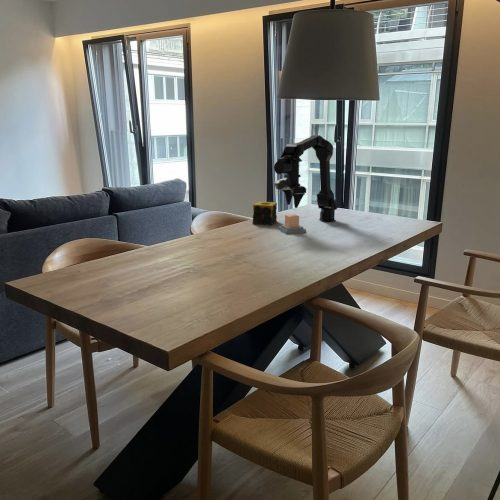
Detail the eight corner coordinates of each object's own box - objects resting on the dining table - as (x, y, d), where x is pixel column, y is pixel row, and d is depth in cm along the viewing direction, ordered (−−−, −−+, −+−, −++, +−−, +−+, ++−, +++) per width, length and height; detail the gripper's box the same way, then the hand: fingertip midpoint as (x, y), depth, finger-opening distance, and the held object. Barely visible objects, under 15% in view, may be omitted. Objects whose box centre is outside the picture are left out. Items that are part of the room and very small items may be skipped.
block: (294, 224, 232) (294, 214, 231) (298, 226, 228) (299, 215, 227) (284, 225, 231) (285, 214, 230) (288, 227, 226) (289, 216, 225)
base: (297, 228, 236) (297, 223, 235) (306, 232, 227) (306, 227, 226) (278, 229, 233) (278, 224, 233) (285, 234, 224) (285, 228, 223)
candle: (252, 224, 246) (252, 204, 243) (257, 220, 255) (257, 201, 252) (272, 225, 243) (272, 205, 240) (276, 221, 252) (277, 202, 249)
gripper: (269, 170, 229) (269, 204, 233) (283, 175, 212) (283, 210, 216) (291, 170, 232) (290, 202, 236) (307, 174, 215) (306, 209, 219)
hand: (292, 206), depth 227 cm, fingers open, 9 cm apart
